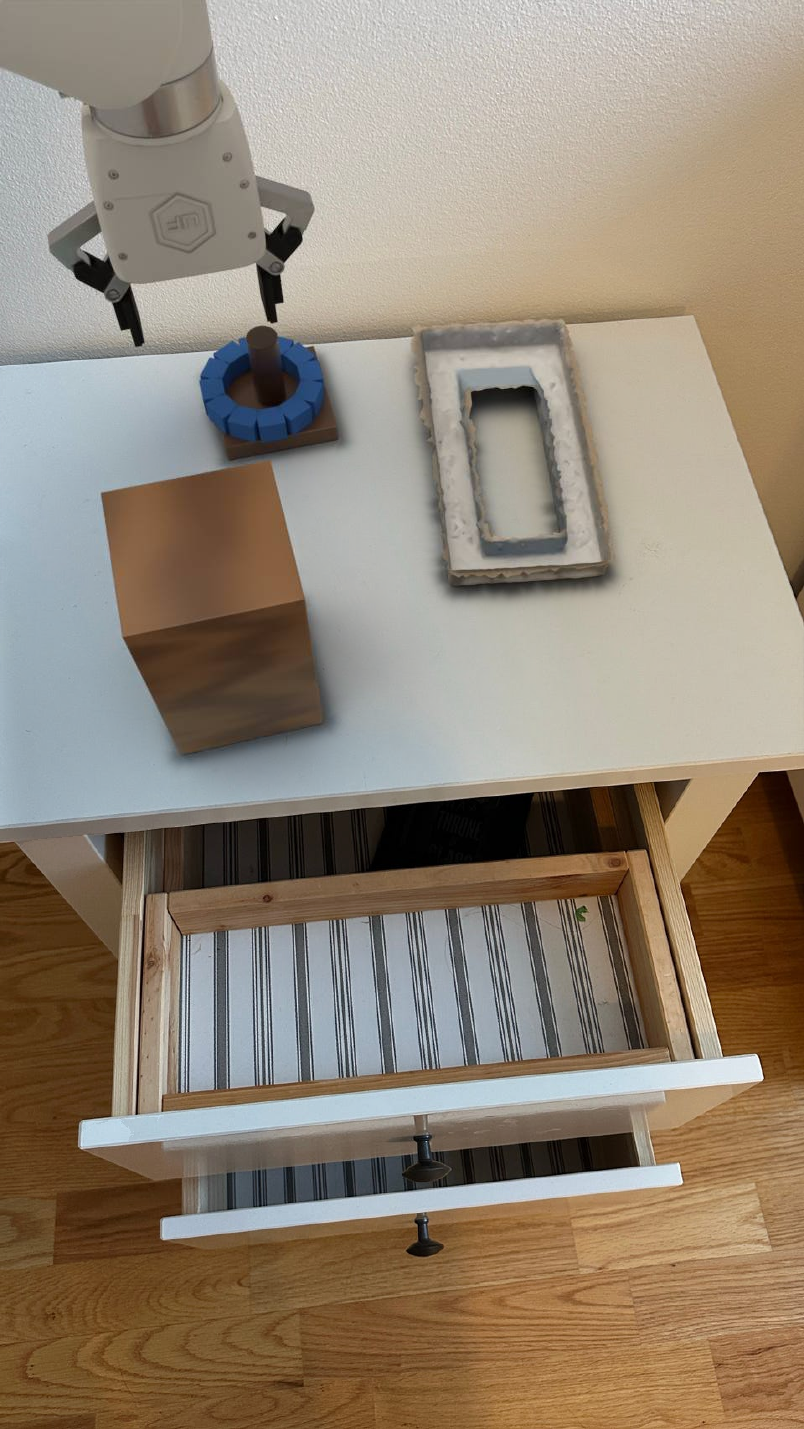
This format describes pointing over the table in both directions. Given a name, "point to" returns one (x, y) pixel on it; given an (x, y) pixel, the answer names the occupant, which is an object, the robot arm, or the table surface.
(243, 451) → the post
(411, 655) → the table surface
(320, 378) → the ring
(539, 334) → the picture frame
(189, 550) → the stand
